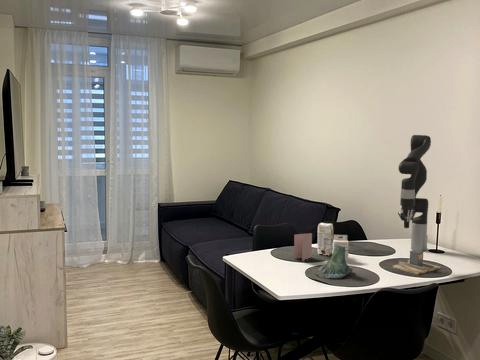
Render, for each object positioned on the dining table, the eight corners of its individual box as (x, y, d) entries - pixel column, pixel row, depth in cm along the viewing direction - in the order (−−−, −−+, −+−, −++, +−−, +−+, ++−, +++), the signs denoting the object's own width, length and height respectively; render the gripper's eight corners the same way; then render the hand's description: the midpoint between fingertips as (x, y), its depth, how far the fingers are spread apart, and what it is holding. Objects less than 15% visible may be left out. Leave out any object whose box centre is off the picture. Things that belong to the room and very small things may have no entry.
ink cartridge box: (333, 261, 270) (333, 236, 269) (332, 258, 275) (333, 234, 274) (348, 261, 270) (348, 236, 268) (347, 259, 274) (347, 234, 273)
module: (415, 264, 259) (415, 249, 258) (423, 266, 255) (423, 251, 254) (409, 265, 257) (410, 250, 256) (417, 268, 252) (417, 252, 252)
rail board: (415, 261, 268) (415, 257, 268) (440, 268, 255) (440, 264, 254) (392, 267, 257) (392, 263, 257) (417, 274, 244) (417, 270, 244)
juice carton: (329, 256, 281) (329, 225, 279) (316, 254, 285) (316, 224, 283) (333, 253, 287) (334, 223, 285) (320, 251, 291) (321, 222, 290)
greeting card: (310, 257, 278) (311, 233, 277) (316, 260, 271) (316, 235, 270) (293, 259, 275) (293, 234, 273) (298, 262, 268) (299, 236, 266)
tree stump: (306, 272, 250) (313, 239, 251) (336, 276, 258) (342, 245, 259) (326, 280, 233) (333, 245, 234) (357, 284, 241) (364, 250, 242)
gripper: (405, 198, 251) (404, 230, 252) (421, 197, 258) (419, 227, 259) (394, 197, 257) (393, 228, 259) (409, 195, 264) (408, 225, 266)
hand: (406, 228), depth 259 cm, fingers closed
